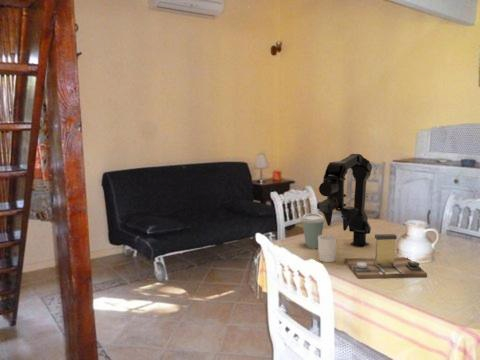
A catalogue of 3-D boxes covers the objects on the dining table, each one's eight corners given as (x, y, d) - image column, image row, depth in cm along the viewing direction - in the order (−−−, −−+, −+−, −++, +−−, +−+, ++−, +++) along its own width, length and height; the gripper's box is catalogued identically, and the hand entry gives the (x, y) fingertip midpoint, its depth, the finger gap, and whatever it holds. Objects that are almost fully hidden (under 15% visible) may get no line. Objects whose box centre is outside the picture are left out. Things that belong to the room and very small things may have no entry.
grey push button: (355, 265, 156) (355, 261, 156) (364, 265, 156) (365, 261, 156) (358, 268, 152) (358, 265, 152) (367, 268, 152) (368, 265, 152)
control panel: (345, 261, 167) (345, 256, 167) (406, 260, 168) (407, 254, 167) (358, 279, 149) (358, 272, 149) (427, 277, 149) (427, 271, 149)
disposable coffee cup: (326, 249, 183) (326, 218, 181) (302, 250, 184) (302, 218, 182) (322, 243, 194) (322, 212, 192) (299, 243, 194) (299, 213, 192)
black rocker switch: (407, 263, 156) (407, 261, 156) (414, 263, 156) (414, 261, 156) (411, 265, 152) (411, 263, 152) (419, 265, 152) (419, 263, 152)
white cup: (325, 264, 165) (326, 240, 164) (314, 258, 172) (314, 236, 171) (340, 260, 169) (340, 237, 168) (328, 255, 176) (328, 233, 174)
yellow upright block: (373, 264, 159) (374, 233, 158) (392, 264, 159) (393, 233, 158) (376, 268, 155) (377, 236, 154) (396, 267, 155) (397, 236, 154)
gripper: (307, 191, 171) (307, 226, 174) (339, 198, 156) (339, 236, 158) (326, 188, 177) (326, 222, 180) (359, 194, 161) (358, 231, 164)
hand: (336, 228), depth 170 cm, fingers open, 9 cm apart
